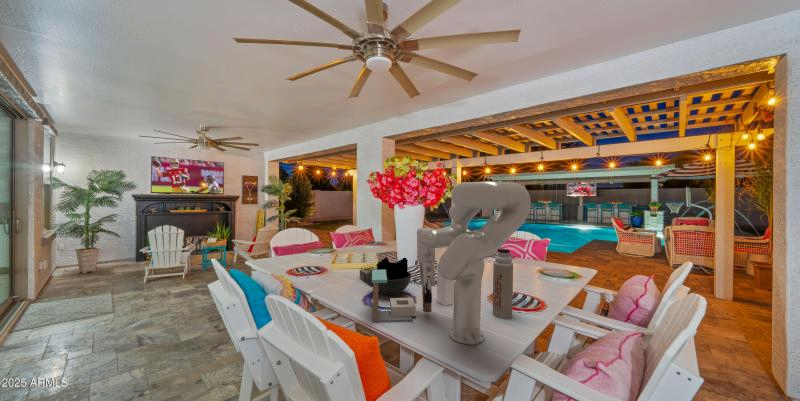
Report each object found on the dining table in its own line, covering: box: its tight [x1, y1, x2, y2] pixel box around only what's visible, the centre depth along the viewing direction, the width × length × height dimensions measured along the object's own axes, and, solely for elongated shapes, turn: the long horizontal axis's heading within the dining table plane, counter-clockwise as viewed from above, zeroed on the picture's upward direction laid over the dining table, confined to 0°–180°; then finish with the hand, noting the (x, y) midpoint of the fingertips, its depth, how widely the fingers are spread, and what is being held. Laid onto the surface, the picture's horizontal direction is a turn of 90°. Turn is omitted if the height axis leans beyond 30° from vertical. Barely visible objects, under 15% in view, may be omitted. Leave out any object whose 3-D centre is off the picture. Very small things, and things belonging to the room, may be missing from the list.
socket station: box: [372, 269, 417, 324], centre depth 125 cm, size 16×18×17 cm
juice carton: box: [359, 267, 377, 288], centre depth 170 cm, size 20×10×6 cm, turn 30°
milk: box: [436, 260, 455, 307], centre depth 138 cm, size 6×6×22 cm
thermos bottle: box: [492, 248, 514, 320], centre depth 125 cm, size 8×8×28 cm
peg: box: [421, 283, 433, 313], centre depth 123 cm, size 4×4×12 cm
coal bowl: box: [375, 256, 412, 296], centre depth 149 cm, size 20×20×19 cm
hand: (427, 300), depth 123 cm, fingers closed on peg, 3 cm apart
